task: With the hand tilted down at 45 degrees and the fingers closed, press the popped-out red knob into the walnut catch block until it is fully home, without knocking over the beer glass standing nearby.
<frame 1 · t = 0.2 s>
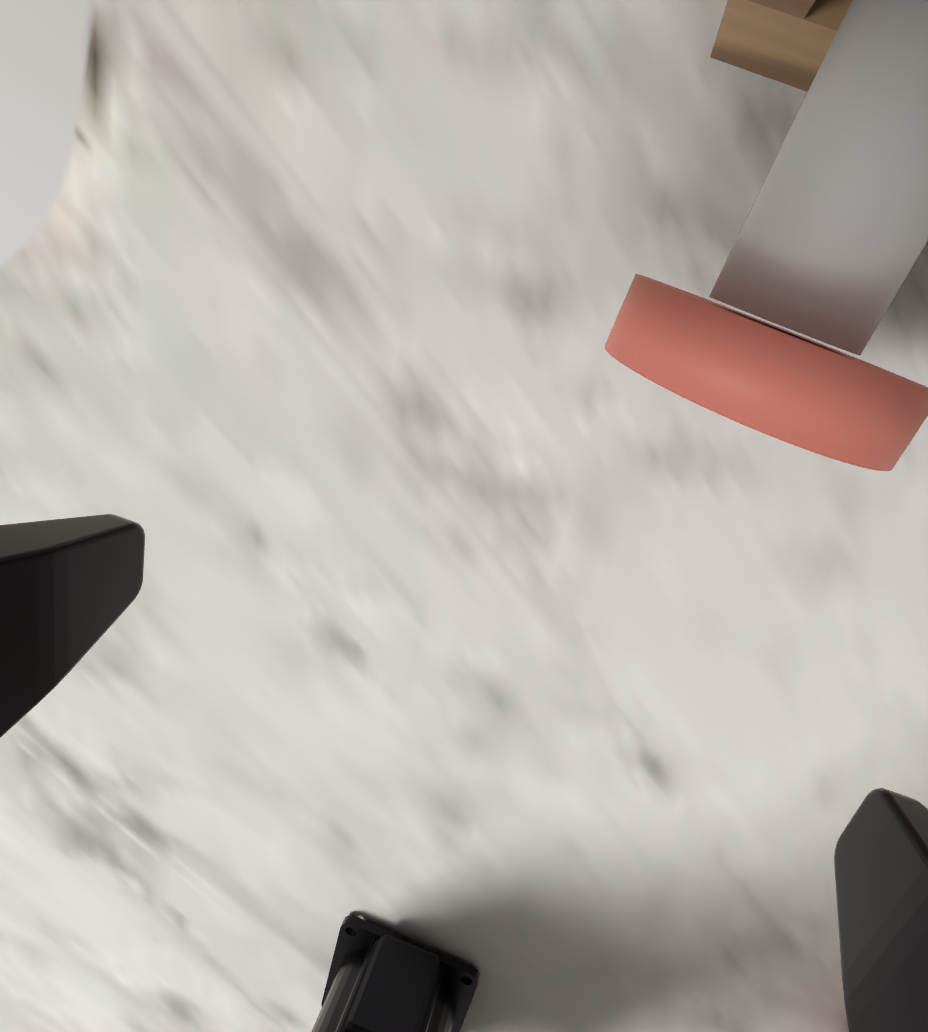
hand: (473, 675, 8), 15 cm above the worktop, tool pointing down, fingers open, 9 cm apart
knob: (844, 208, 13), point 6 cm above the worktop, slide at 5.0 cm
catch block: (831, 125, 18), on the worktop
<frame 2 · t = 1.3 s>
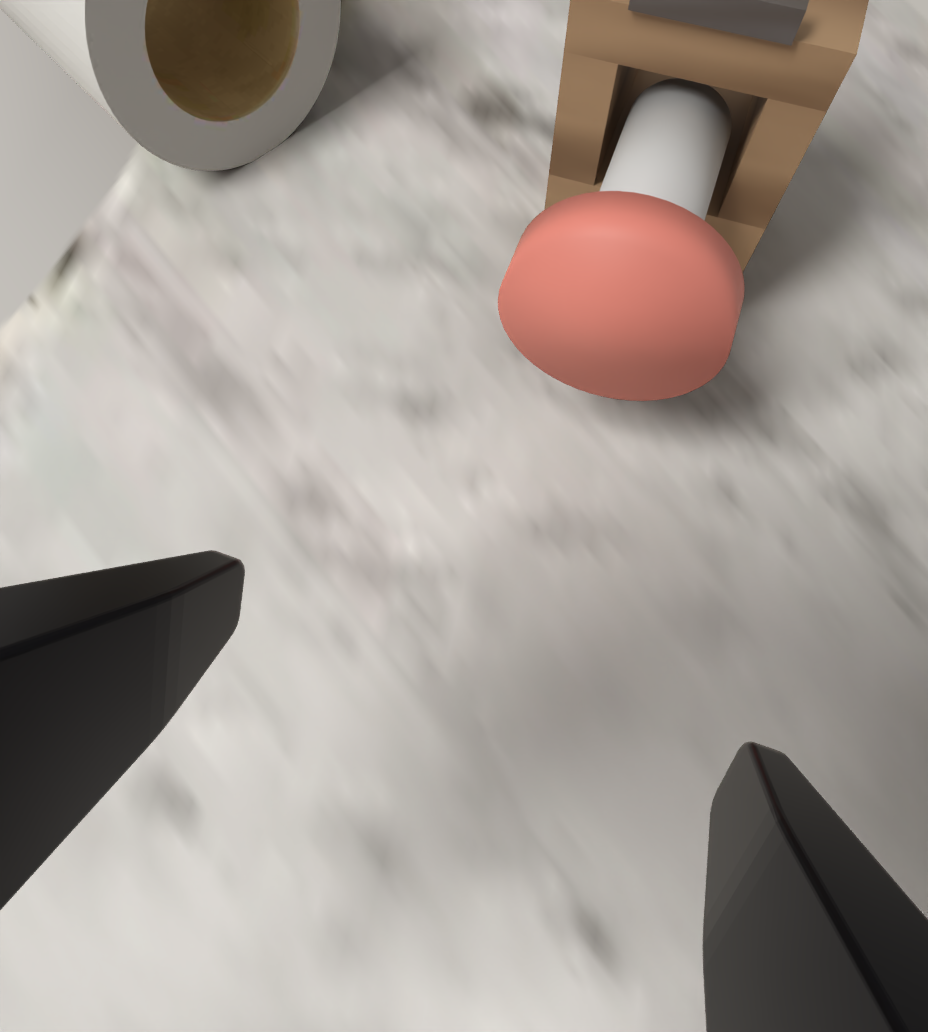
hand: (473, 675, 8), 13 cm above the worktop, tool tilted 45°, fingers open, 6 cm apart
knob: (645, 222, 19), point 6 cm above the worktop, slide at 5.0 cm
catch block: (622, 305, 26), on the worktop
toilet paper: (200, 96, 31), on the worktop
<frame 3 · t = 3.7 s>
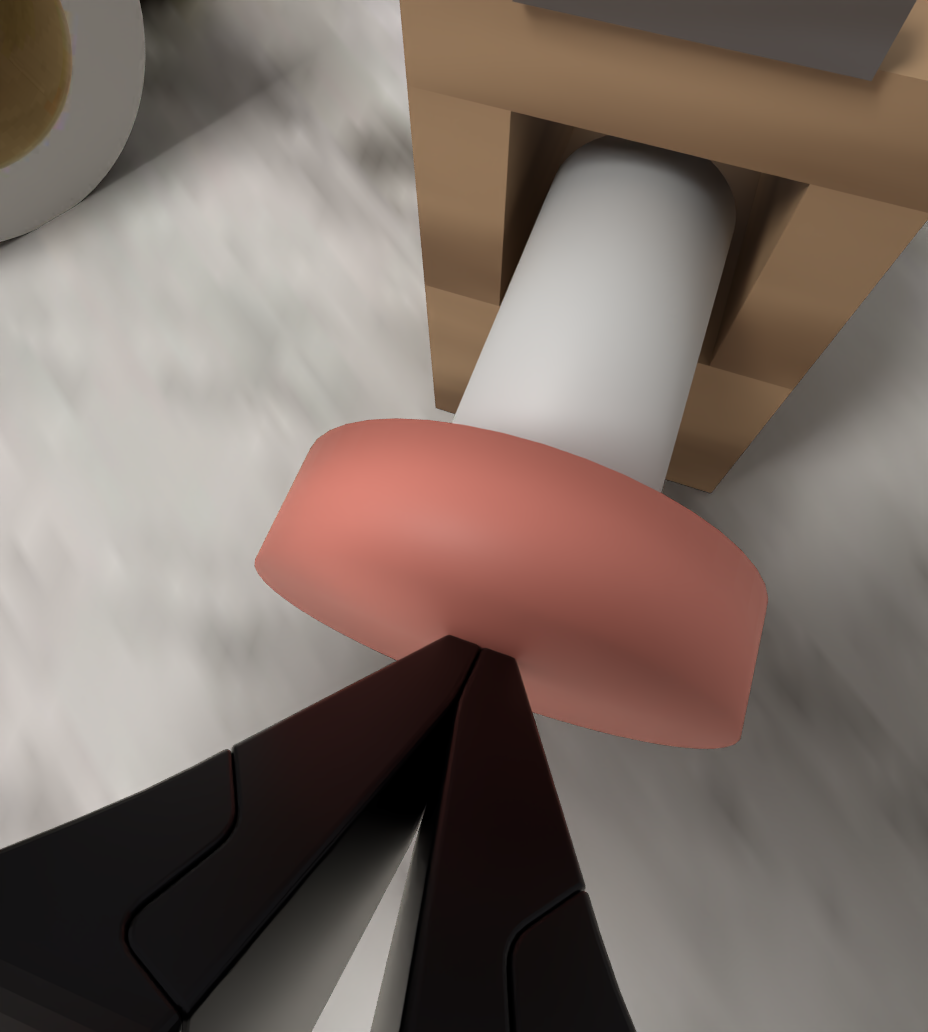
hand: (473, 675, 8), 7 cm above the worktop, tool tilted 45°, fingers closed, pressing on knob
knob: (571, 408, 10), point 6 cm above the worktop, slide at 4.9 cm, touching gripper
catch block: (563, 466, 17), on the worktop
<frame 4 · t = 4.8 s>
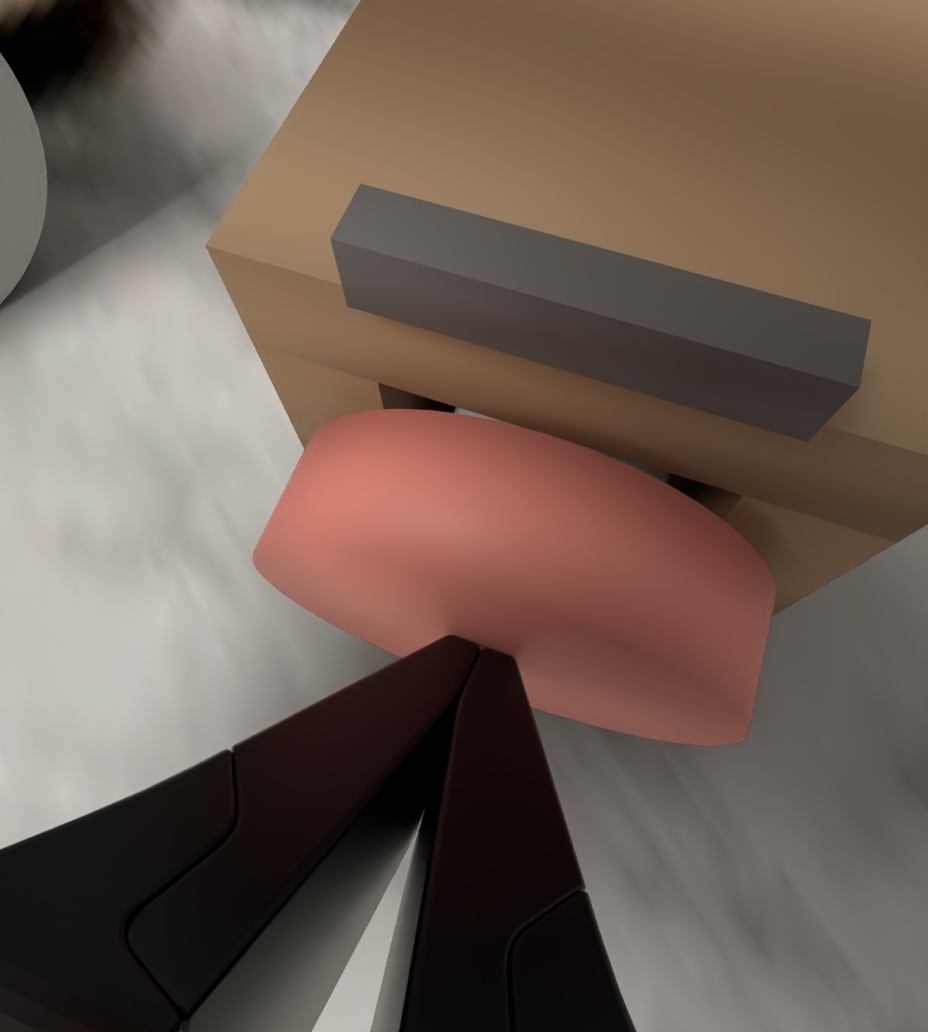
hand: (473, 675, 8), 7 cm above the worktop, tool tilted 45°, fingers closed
knob: (574, 400, 10), point 7 cm above the worktop, slide at 0.2 cm
catch block: (503, 644, 15), on the worktop
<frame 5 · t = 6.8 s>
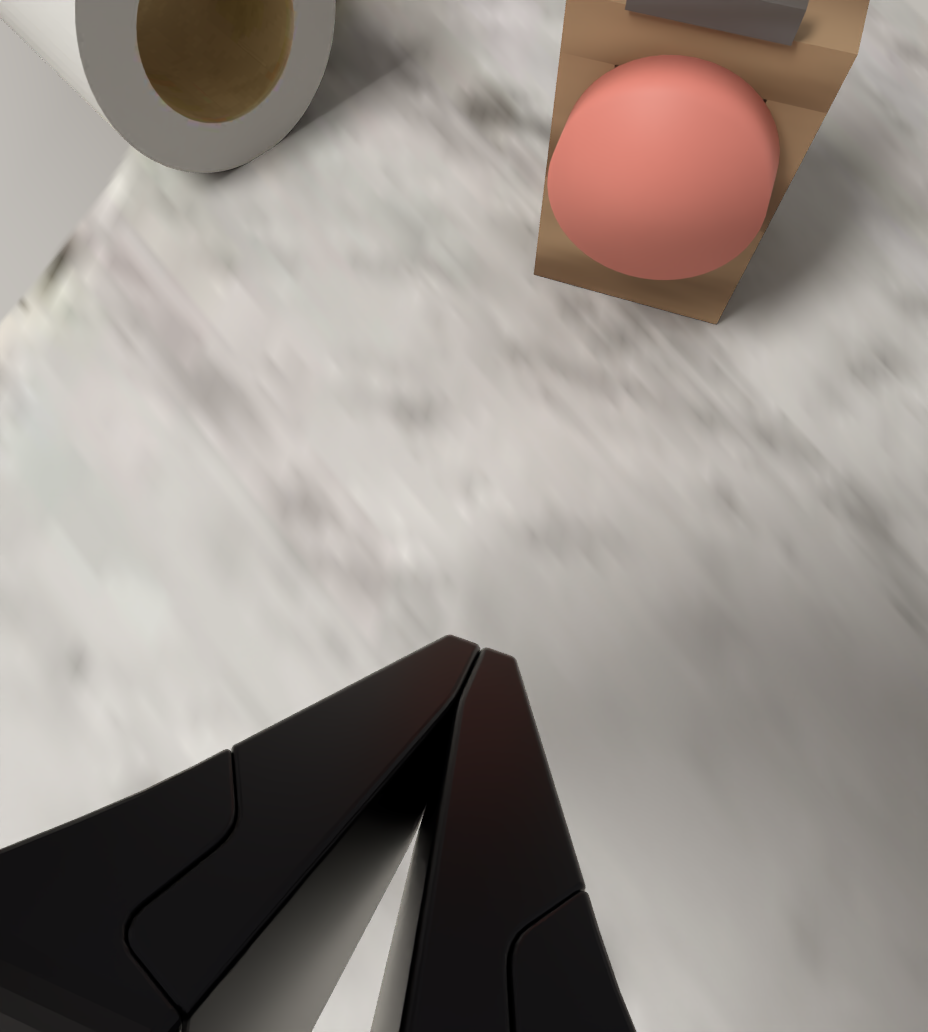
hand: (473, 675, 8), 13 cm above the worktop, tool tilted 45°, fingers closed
knob: (683, 107, 20), point 6 cm above the worktop, slide at 0.2 cm
catch block: (619, 309, 26), on the worktop
toilet paper: (194, 98, 30), on the worktop
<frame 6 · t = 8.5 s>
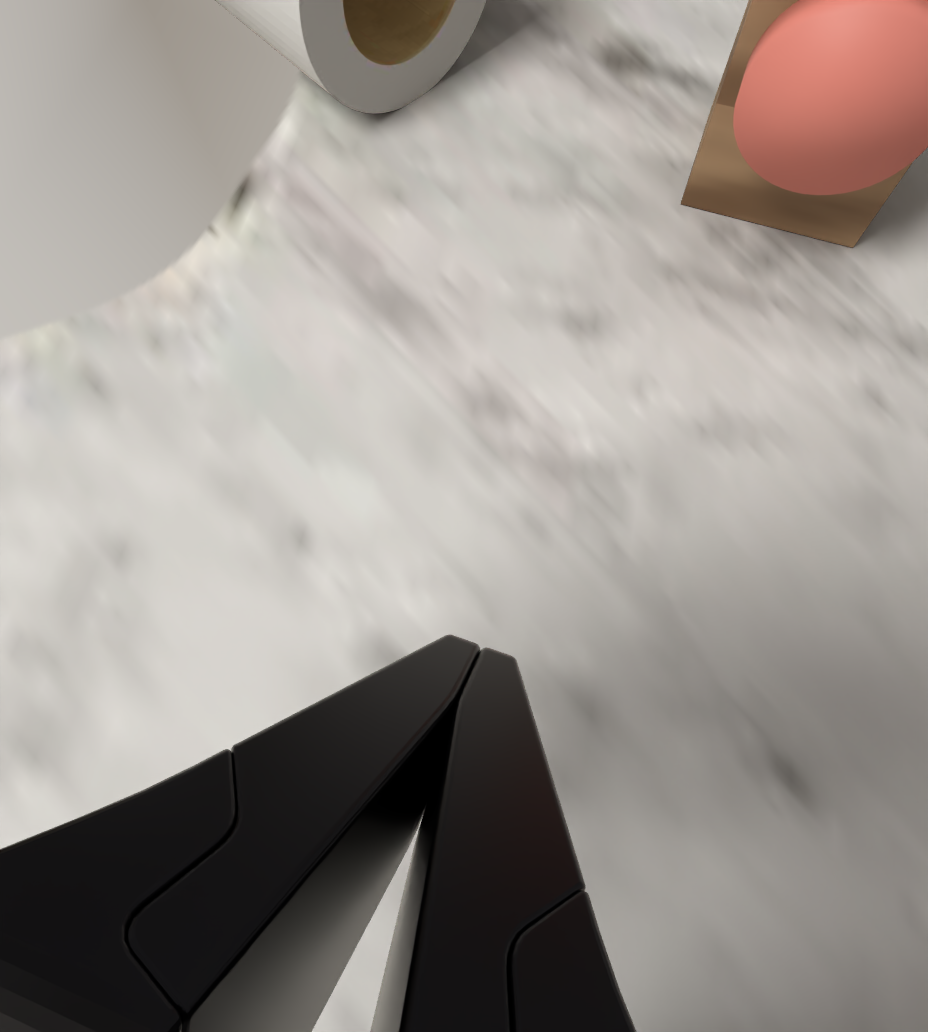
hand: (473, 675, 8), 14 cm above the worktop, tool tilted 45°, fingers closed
knob: (853, 35, 23), point 6 cm above the worktop, slide at 0.2 cm
catch block: (762, 234, 28), on the worktop
toilet paper: (347, 49, 33), on the worktop
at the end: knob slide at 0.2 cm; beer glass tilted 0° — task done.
